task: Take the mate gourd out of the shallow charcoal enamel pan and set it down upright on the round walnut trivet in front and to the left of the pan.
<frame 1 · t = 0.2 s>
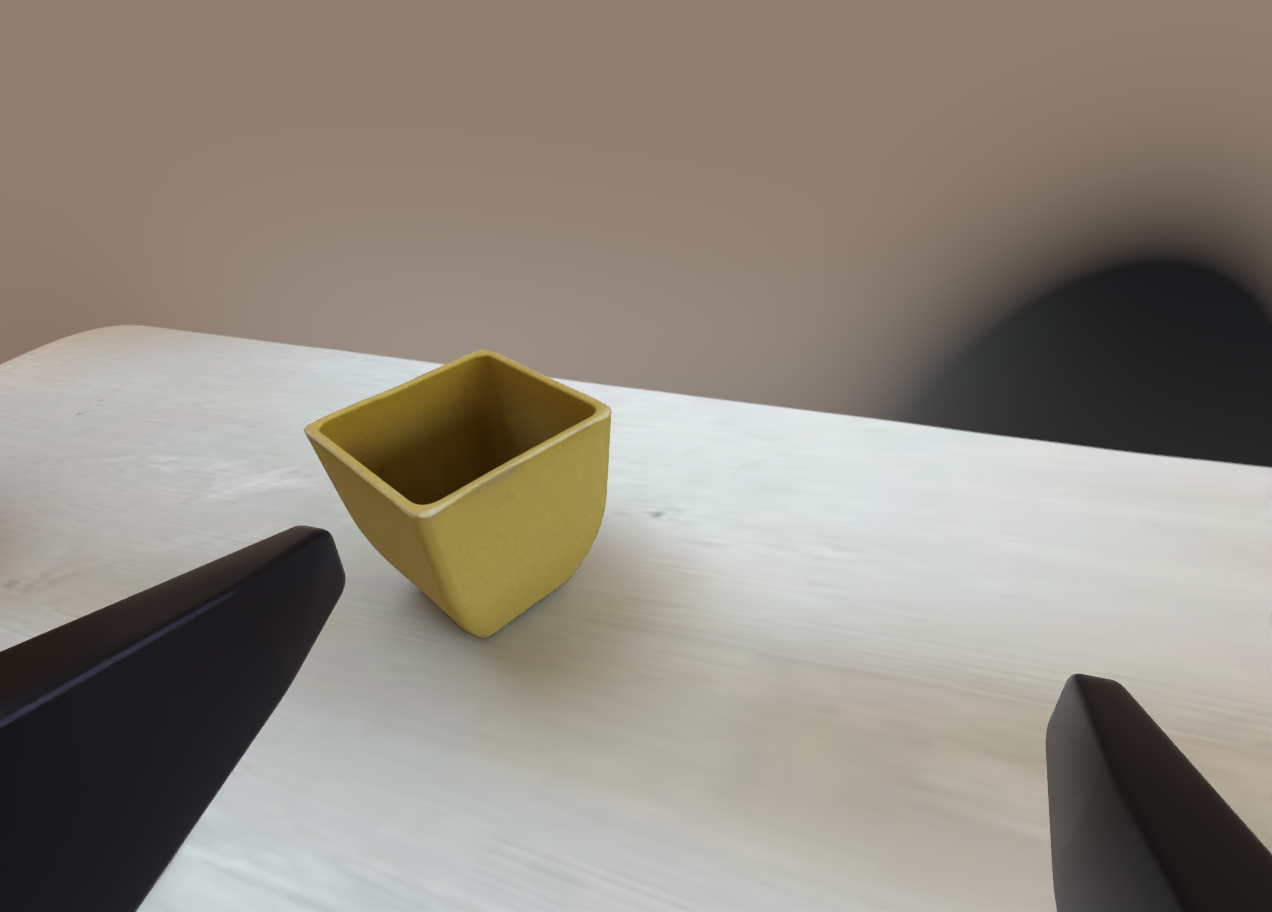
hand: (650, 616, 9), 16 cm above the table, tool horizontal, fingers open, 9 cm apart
flower pot: (495, 588, 33), on the table
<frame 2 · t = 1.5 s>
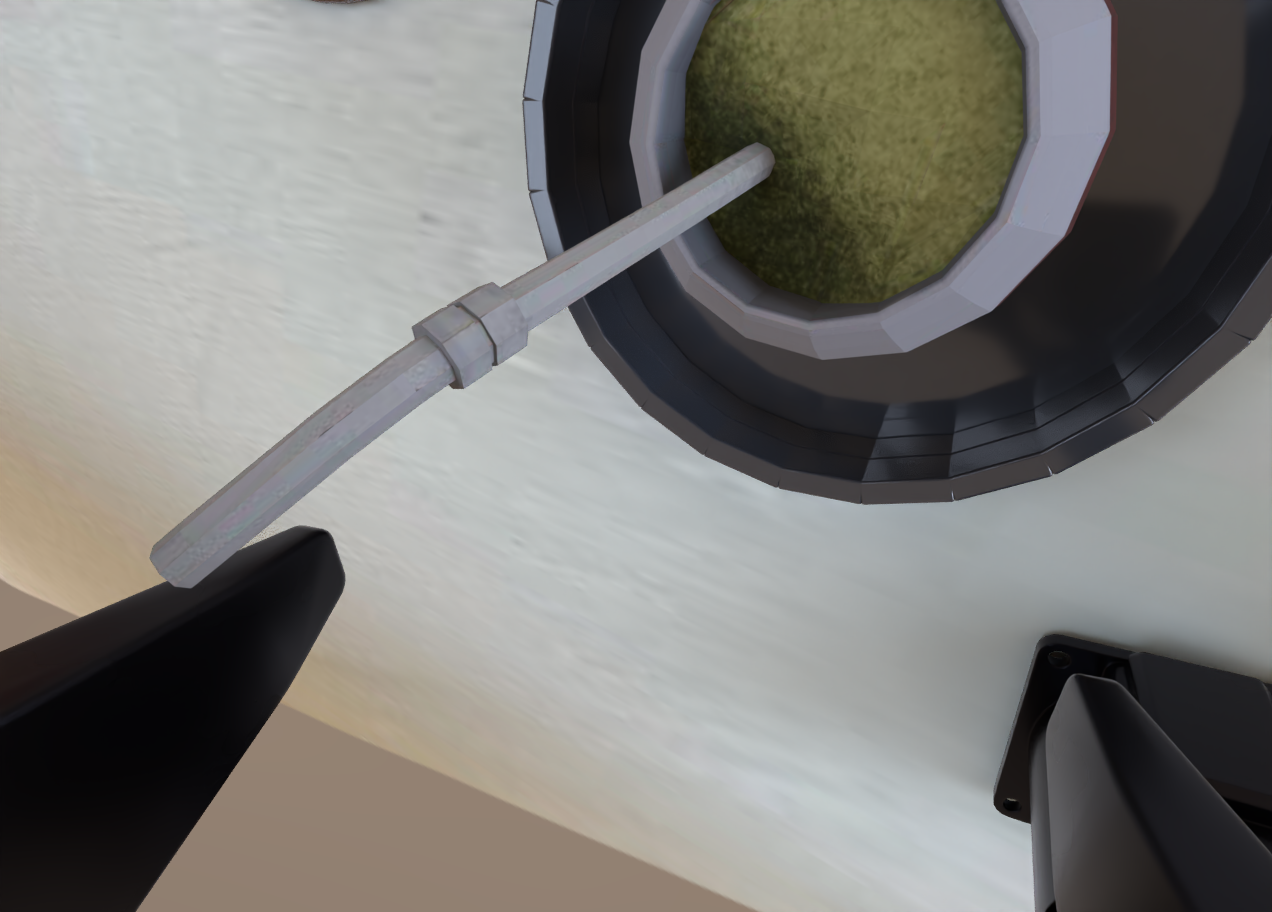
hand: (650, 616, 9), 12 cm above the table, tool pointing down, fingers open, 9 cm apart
pan: (880, 145, 16), on the table
mate gourd: (879, 145, 16), resting on pan
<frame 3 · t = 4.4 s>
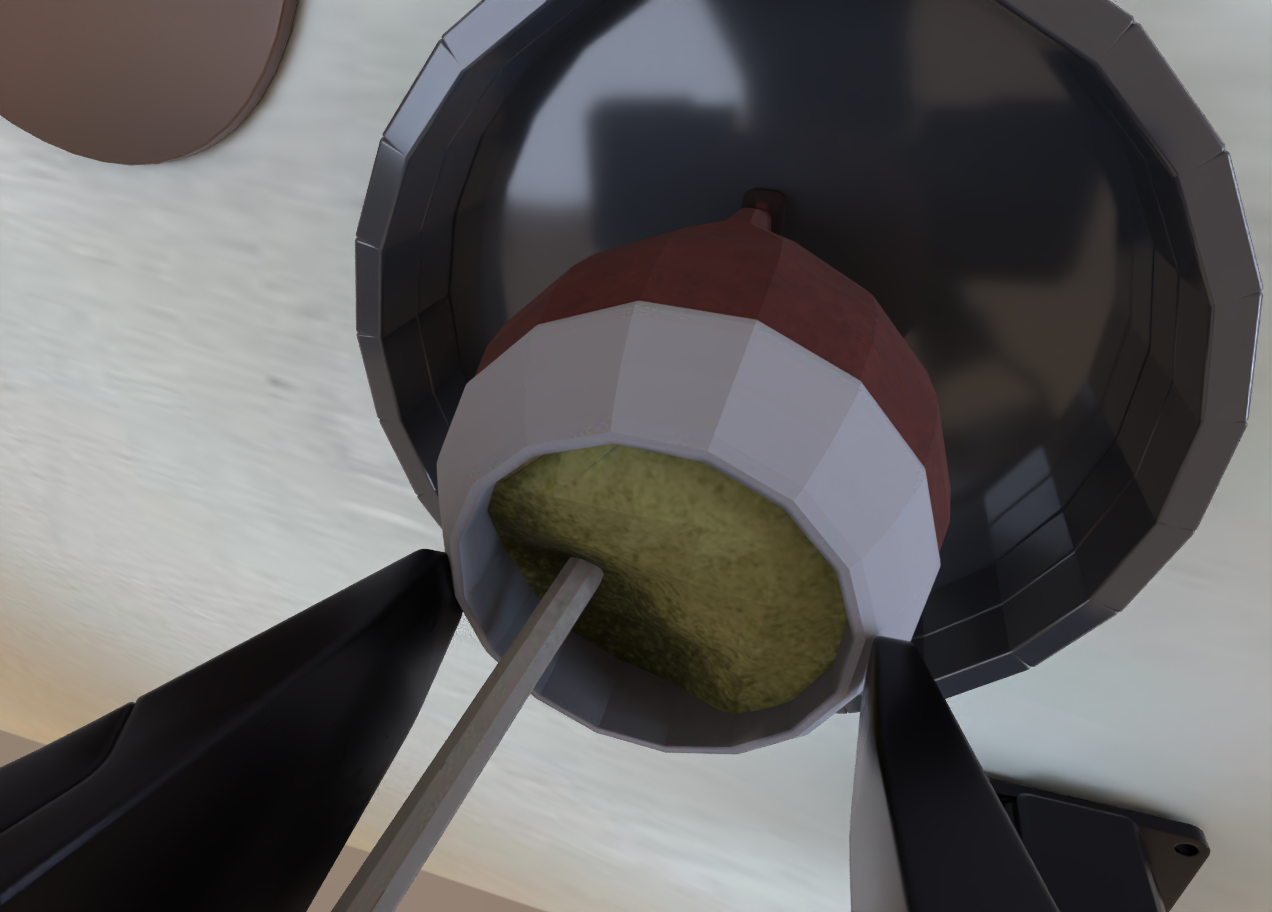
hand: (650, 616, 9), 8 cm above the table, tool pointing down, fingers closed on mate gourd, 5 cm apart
pan: (755, 353, 15), on the table
mate gourd: (731, 356, 15), resting on pan, touching gripper
when the fingers open (8 cm above the table, at t = 10.1 s): mate gourd stays where it is, resting on trivet.
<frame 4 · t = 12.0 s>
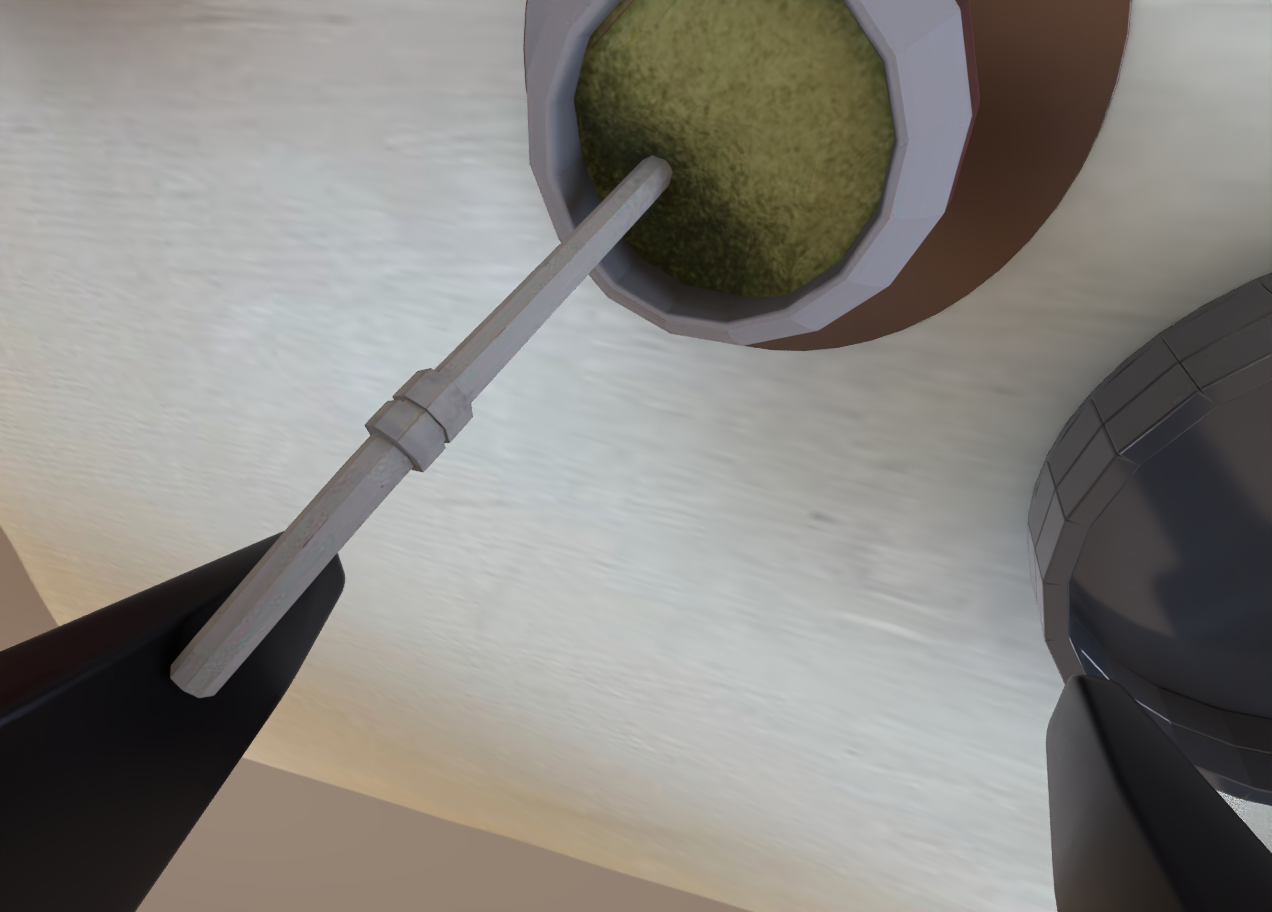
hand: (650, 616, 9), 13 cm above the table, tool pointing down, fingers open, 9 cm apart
trivet: (792, 82, 17), on the table
mate gourd: (772, 102, 17), resting on trivet, touching gripper
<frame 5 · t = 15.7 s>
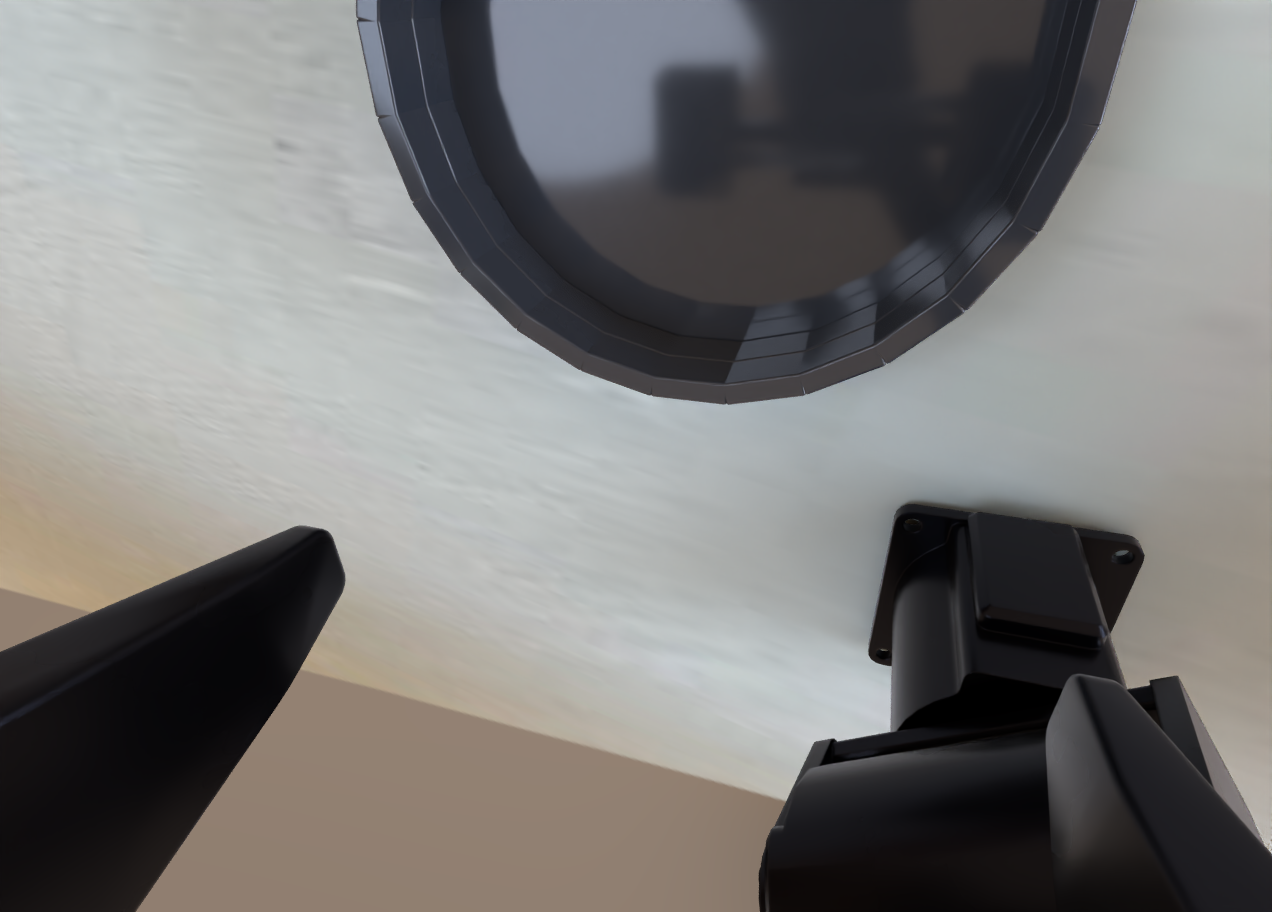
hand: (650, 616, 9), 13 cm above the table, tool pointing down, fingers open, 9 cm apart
pan: (720, 54, 17), on the table
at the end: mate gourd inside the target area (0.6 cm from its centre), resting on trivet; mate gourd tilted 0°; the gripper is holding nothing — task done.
